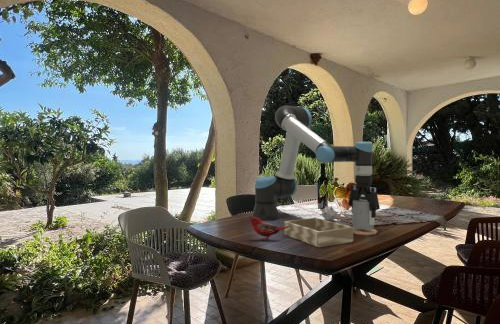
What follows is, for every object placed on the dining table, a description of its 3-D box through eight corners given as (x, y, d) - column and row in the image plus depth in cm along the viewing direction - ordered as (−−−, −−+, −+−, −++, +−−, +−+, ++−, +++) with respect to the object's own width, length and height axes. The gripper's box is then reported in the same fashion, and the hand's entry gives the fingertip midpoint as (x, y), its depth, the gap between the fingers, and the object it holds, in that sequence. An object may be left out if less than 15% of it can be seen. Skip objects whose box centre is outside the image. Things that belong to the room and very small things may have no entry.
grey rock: (332, 228, 185) (338, 215, 179) (317, 222, 187) (322, 209, 181) (334, 217, 192) (340, 205, 186) (320, 211, 194) (325, 199, 188)
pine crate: (283, 234, 156) (283, 221, 155) (315, 230, 164) (315, 217, 164) (319, 247, 134) (319, 232, 134) (353, 241, 143) (353, 227, 143)
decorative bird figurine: (249, 238, 148) (249, 215, 148) (290, 239, 146) (290, 216, 146) (248, 240, 145) (248, 217, 145) (290, 241, 143) (290, 217, 143)
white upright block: (358, 224, 167) (358, 198, 166) (377, 227, 160) (377, 200, 160) (348, 227, 160) (348, 200, 160) (367, 230, 153) (368, 203, 153)
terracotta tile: (344, 230, 162) (344, 228, 162) (362, 228, 168) (362, 226, 168) (363, 236, 152) (363, 234, 152) (382, 233, 158) (382, 231, 158)
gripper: (340, 173, 167) (340, 219, 168) (377, 176, 148) (376, 228, 148) (351, 173, 171) (351, 217, 171) (389, 176, 151) (388, 226, 152)
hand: (363, 222), depth 160 cm, fingers closed on white upright block, 9 cm apart
